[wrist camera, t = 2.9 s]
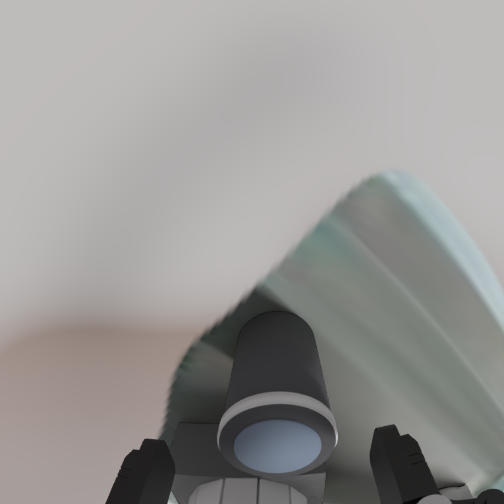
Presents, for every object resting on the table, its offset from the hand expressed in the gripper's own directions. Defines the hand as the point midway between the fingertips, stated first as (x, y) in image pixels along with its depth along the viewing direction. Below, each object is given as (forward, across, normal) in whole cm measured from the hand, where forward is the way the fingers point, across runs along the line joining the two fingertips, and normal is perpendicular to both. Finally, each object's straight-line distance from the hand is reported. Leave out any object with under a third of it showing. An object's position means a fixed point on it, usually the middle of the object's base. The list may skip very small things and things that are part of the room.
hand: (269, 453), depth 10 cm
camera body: (+8, +2, +12) cm, 15 cm away
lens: (+8, 0, 0) cm, 9 cm away
